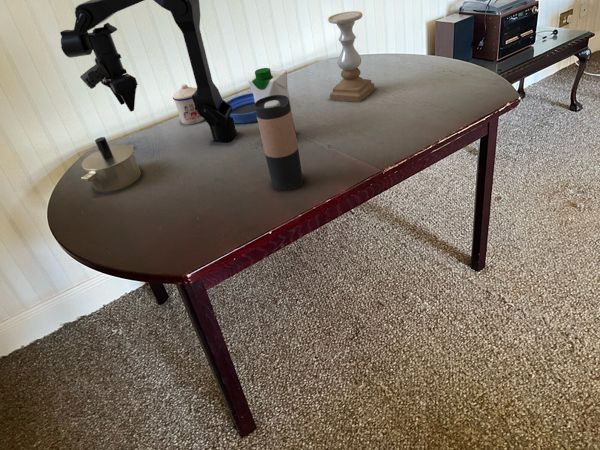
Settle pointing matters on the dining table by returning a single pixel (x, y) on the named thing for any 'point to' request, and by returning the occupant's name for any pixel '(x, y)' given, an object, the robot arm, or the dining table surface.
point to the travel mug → (279, 141)
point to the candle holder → (349, 61)
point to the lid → (107, 156)
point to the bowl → (243, 108)
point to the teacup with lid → (186, 105)
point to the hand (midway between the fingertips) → (127, 107)
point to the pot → (114, 176)
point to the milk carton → (269, 84)
